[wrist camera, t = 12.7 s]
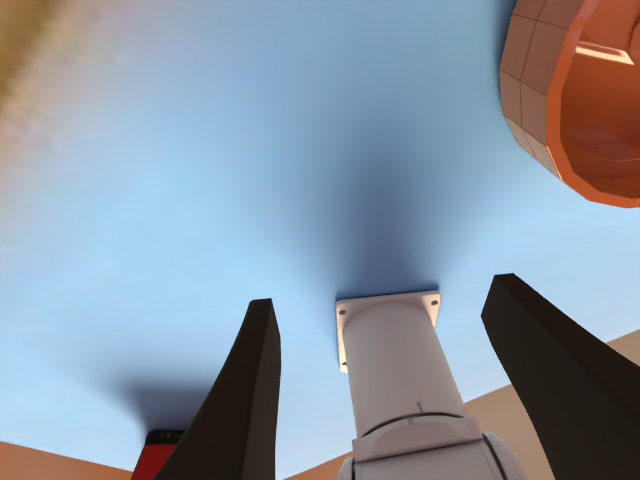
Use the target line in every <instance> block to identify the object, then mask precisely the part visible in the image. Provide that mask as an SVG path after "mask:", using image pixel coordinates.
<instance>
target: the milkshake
mask: <svg viewBox="0 0 640 480" xmlns="http://www.w3.org/2000/svg"><path fill="white" fill-rule="evenodd" d="M629 54H630V55H631V56H632V58H633V59H634V61H635V62H636V64H637V65H638V66H639V67H640V21H639V22H638V23H637V25H636V26H635V27H634V29H633V33H632V38H631V43H630V47H629Z"/></svg>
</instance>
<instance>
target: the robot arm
mask: <svg viewBox="0 0 640 480" xmlns="http://www.w3.org/2000/svg"><path fill="white" fill-rule="evenodd" d="M441 298H442V295H441V293H440V292H439V291H437V290H433V291H423V292H414V293H404V294H394V295H384V296H375V297H365V298H355V299H346V300H339V301H337V302H336V304H335V310H336V325H337V340H338V355H339V369H340V371H341V372H343V373H347V372H348V378H349V385H350V392H351V399H352V405H353V412H354V419H355V426H356V433H357V439H354V440H352V446H353V453H354V457H350V458H347V459H345V460H344V462H343V465H342V467H341V469H340V471H339V473H338V476H337V480H528V478H527V476H526V474H525V472H524V470H523V468H522V466H521V464H520V462H519V461H518V459H517V457H516V455H515V454H514V452H513V450H512V449H511V448H510V446H509V445H508V444H507V443H506V442H505V441H503V440H502V439H500V438H498V437H497V436H496V435H495V434H494V433H493V432H485V433H481V430H480V428H479V425H478V423H477V420H476V418H475V417H468V414H467V412H466V409H465V407H464V404H463V401H462V399H461V396H460V394H459V391H458V389H457V386H456V383H455V381H454V378H453V376H452V373H451V371H450V368H449V365H448V363H447V360H446V358H445V355H444V353H443V350H442V347H441V345H440V342H439V340H438V337H437V335H436V332H435V326H436V322H437V317H438V312H439V308H440V303H441ZM481 318H482V321H483V324H484V326H485V329H486V332H487V334H488V337H489V340H490V342H491V345H492V347H493V349H494V351H495V353H496V354H497V356H498V358H499V360H500V362H501V364H502V366H503V368H504V370H505V372H506V373H507V375H508V377H509V379H510V381H511V383H512V385H513V386H514V388H515V390H516V392H517V394H518V396H519V398H520V400H521V402H522V403H523V405H524V407H525V409H526V411H527V413H528V415H529V417H530V419H531V421H532V423H533V426H534V428H535V430H536V433H537V435H538V437H539V440H540V442H541V445H542V447H543V449H544V452H545V454H546V457H547V459H548V462H549V465H550V467H551V469H552V472H553V475H554V477H555V480H640V367H639V366H638V365H636V364H635V363H633V362H631V361H630V360H628V359H627V358H625V357H624V356H622V355H621V354H619V353H618V352H616V351H615V350H613V349H612V348H610V347H609V346H608V345H606V344H605V343H604V342H602V341H601V340H599V339H598V338H596V337H595V336H594V335H592V334H591V333H589V332H588V331H587V330H585V329H584V328H583V327H581V326H580V325H579V324H577V323H576V322H575V321H573V320H572V319H571V318H569V317H568V316H567V315H566V314H564V313H563V312H562V311H560V310H559V309H558V308H557V307H555V306H554V305H553V304H552V303H550V302H549V301H548V300H547V299H545V298H544V297H543V296H541V295H540V294H539V293H538V292H536V291H535V290H534V289H533V288H532V287H530V286H529V285H528V284H527V283H525V282H524V281H523V280H521V279H520V278H519V277H518V276H516V275H515V274H514V273H510V274H500V275H494V278H493V281H492V284H491V287H490V290H489V293H488V296H487V299H486V301H485V304H484V307H483V310H482V313H481ZM280 376H281V343H280V333H279V329H278V325H277V320H276V316H275V312H274V308H273V303H272V299H271V298H268V299H258V300H252V301H251V302H250V303H249V306H248V309H247V312H246V315H245V318H244V320H243V323H242V325H241V328H240V330H239V333H238V335H237V337H236V340H235V342H234V344H233V346H232V348H231V351H230V353H229V355H228V357H227V359H226V361H225V363H224V366H223V368H222V369H221V371H220V373H219V375H218V377H217V379H216V381H215V383H214V385H213V386H212V388H211V390H210V392H209V394H208V396H207V397H206V399H205V401H204V403H203V404H202V406H201V408H200V409H199V411H198V413H197V414H196V416H195V417H194V419H193V421H192V422H191V424H190V425H189V427H188V429H187V430H186V432H185V433H184V435H183V436H182V437H181V439H180V440H179V442H178V443H177V445H176V446H175V448H174V449H173V451H172V452H171V454H170V455H169V457H168V458H167V459H166V461H165V462H164V464H163V465H162V466H161V468H160V469H159V470H158V472H157V473H156V474H155V476H154V477H153V478H152V480H275V441H276V426H277V414H278V401H279V389H280Z"/></svg>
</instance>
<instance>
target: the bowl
mask: <svg viewBox="0 0 640 480" xmlns="http://www.w3.org/2000/svg"><path fill="white" fill-rule="evenodd" d="M512 13H513V14H512V16H511V20H510V24H509V28H508V33H507V37H506V42H505V46H504V50H503V55H502V59H501V64H500V70H499V76H500V90H501V103H502V113H503V116H504V118H505V120H506V122H507V124H508V126H509V128H510V130H511V132H512V134H513V136H514V138H515V140H516V142H517V144H518V145H519V146H520V147H521V148H523V149H524V150H525V151H526V152H527V153H529V154H530V155H531V156H532V157H533V158H535V159H536V160H537V161H538V162H539V163H541V164H542V165H543V166H544V167H545V168H546V169H548V170H549V171H550V172H551V173H552V174H554V175H555V176H556V177H557V178H558V179H560V180H561V181H562V182H563V183H565V184H566V185H567V186H569V187H570V188H571V189H573V190H574V191H576V192H577V193H578V194H580V195H581V196H582V197H584V198H585V199H586V200H589V201H592V202H597V203H602V204H607V205H611V206H616V207H621V208H636V207H640V67H639V66H638V65H637V64H636V62H635V61H634V59H633V58H632V56H631V55H630V54H629V47H630V43H631V38H632V33H633V29H634V27H635V26H636V25H637V23H638V22H639V21H640V0H518V1H517V3H516V6H515V8H514V10H513V12H512Z"/></svg>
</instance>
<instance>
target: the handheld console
mask: <svg viewBox="0 0 640 480" xmlns="http://www.w3.org/2000/svg"><path fill="white" fill-rule="evenodd" d="M184 433H185V432H174V431H151V432H149V433H148V435H147V437H146V441H145V445H144V447H143V449H142V452H141V455H140V457H139V459H138V462H137V465H136V467H135V470H134V472H133V475H132V477H131V480H152V478H153V477H154V476H155V474H156V473H157V472H158V470H159V469H160V468H161V466H162V465H163V464H164V462H165V461H166V459H167V458H168V457H169V455H170V454H171V452H172V451H173V449H174V448H175V446H176V445H177V443H178V442H179V440H180V439H181V437H182V436H183V435H184Z"/></svg>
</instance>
